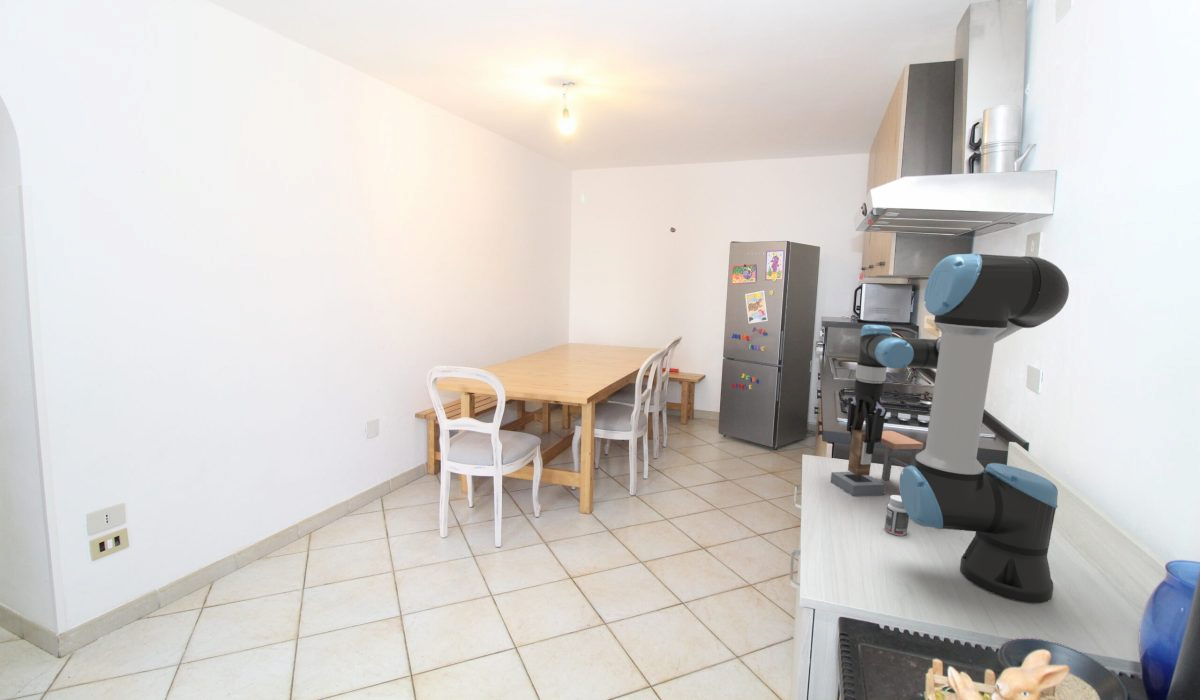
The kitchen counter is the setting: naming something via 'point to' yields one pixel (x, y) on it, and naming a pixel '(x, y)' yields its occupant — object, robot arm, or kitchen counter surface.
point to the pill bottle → (896, 517)
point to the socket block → (857, 484)
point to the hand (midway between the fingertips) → (859, 460)
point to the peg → (857, 454)
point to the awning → (897, 442)
